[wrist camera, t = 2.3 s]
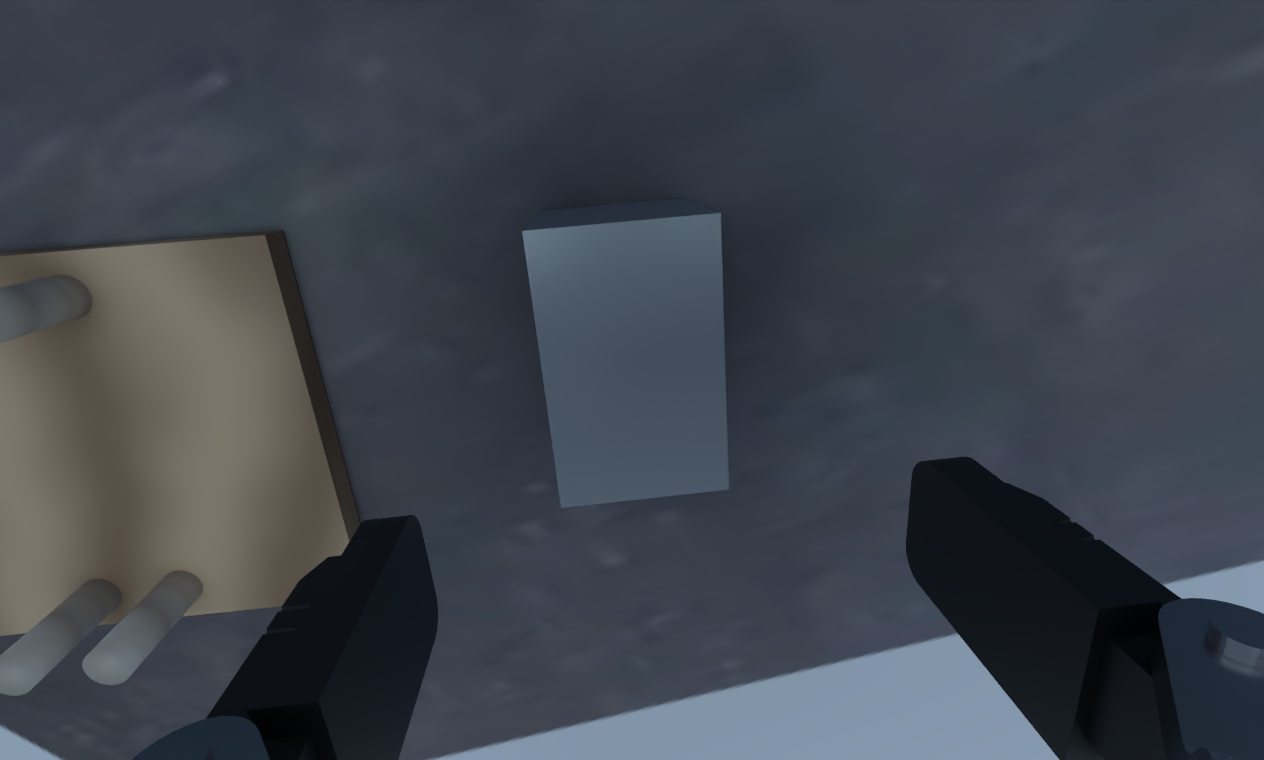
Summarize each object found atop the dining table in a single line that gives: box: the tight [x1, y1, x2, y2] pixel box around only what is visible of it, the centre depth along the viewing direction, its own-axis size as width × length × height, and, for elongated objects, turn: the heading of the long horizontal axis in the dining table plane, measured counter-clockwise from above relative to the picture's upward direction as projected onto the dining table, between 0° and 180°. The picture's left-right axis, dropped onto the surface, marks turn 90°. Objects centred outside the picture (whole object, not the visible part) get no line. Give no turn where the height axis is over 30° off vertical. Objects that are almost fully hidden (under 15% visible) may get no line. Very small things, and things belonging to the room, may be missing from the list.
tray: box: [0, 231, 360, 696], centre depth 20 cm, size 16×14×5 cm
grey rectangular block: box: [522, 198, 729, 508], centre depth 20 cm, size 5×8×6 cm, turn 5°
